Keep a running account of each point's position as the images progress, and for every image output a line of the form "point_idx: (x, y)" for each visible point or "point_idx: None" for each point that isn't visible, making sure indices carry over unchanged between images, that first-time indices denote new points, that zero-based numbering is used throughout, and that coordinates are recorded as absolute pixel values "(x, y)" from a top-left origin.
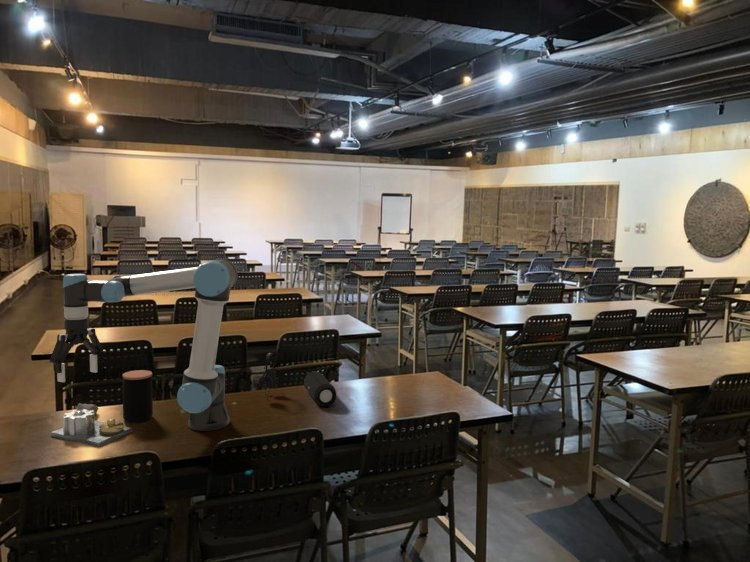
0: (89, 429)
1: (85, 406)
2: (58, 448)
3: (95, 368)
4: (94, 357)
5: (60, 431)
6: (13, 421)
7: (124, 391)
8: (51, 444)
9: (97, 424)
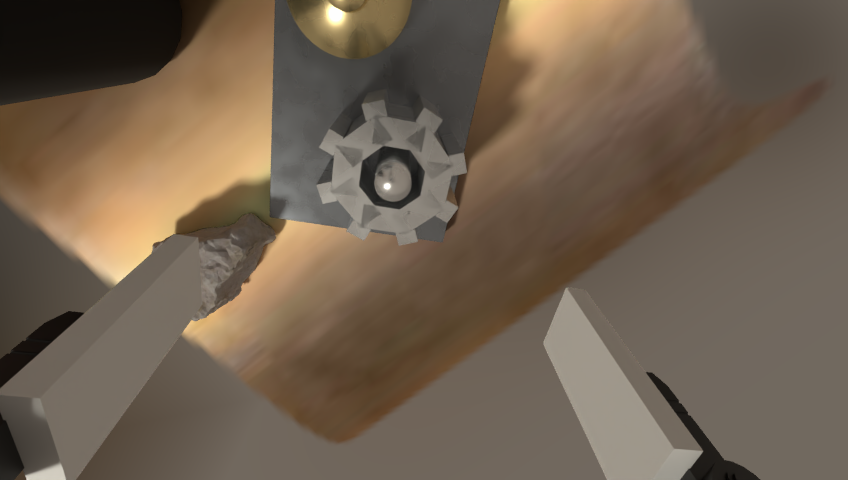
0: (389, 104)
1: (229, 261)
2: (543, 127)
3: (174, 264)
4: (77, 379)
5: None
6: (361, 415)
7: (64, 39)
8: (511, 180)
9: (308, 122)
